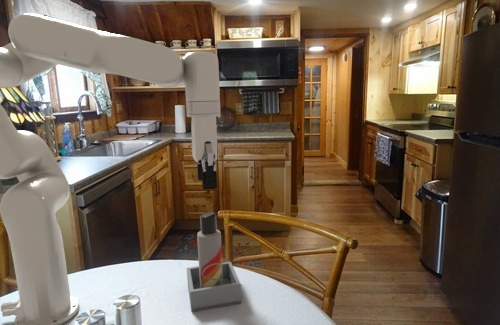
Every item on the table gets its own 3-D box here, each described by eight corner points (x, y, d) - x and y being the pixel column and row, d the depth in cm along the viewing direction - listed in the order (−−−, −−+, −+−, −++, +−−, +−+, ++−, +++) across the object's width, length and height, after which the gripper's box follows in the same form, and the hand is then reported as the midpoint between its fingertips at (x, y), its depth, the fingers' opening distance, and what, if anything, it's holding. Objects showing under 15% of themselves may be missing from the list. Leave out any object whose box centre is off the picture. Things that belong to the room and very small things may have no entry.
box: (191, 312, 76) (190, 291, 75) (187, 285, 87) (186, 267, 86) (241, 303, 79) (240, 283, 78) (231, 278, 90) (230, 261, 89)
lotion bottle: (219, 297, 80) (215, 218, 76) (197, 295, 81) (192, 216, 78) (226, 285, 85) (222, 210, 82) (204, 283, 87) (200, 209, 83)
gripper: (184, 109, 82) (188, 177, 85) (189, 111, 66) (194, 195, 69) (214, 109, 84) (217, 175, 87) (227, 109, 68) (230, 191, 71)
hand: (207, 183), depth 78 cm, fingers open, 9 cm apart
